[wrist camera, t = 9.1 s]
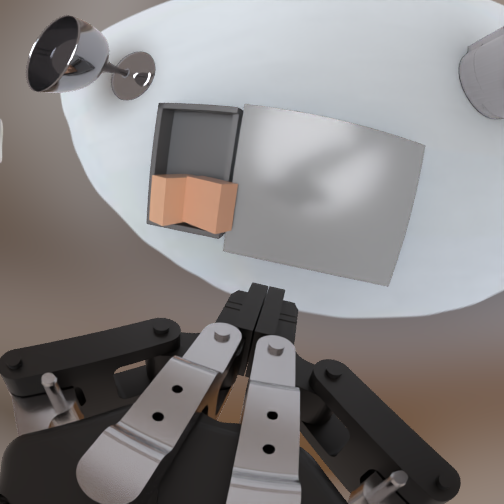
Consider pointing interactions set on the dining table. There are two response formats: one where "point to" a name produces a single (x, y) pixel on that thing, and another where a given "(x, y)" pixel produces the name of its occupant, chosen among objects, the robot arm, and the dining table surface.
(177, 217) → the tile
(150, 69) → the wine glass
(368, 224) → the slate ledge
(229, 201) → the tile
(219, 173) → the tray
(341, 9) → the dining table surface
